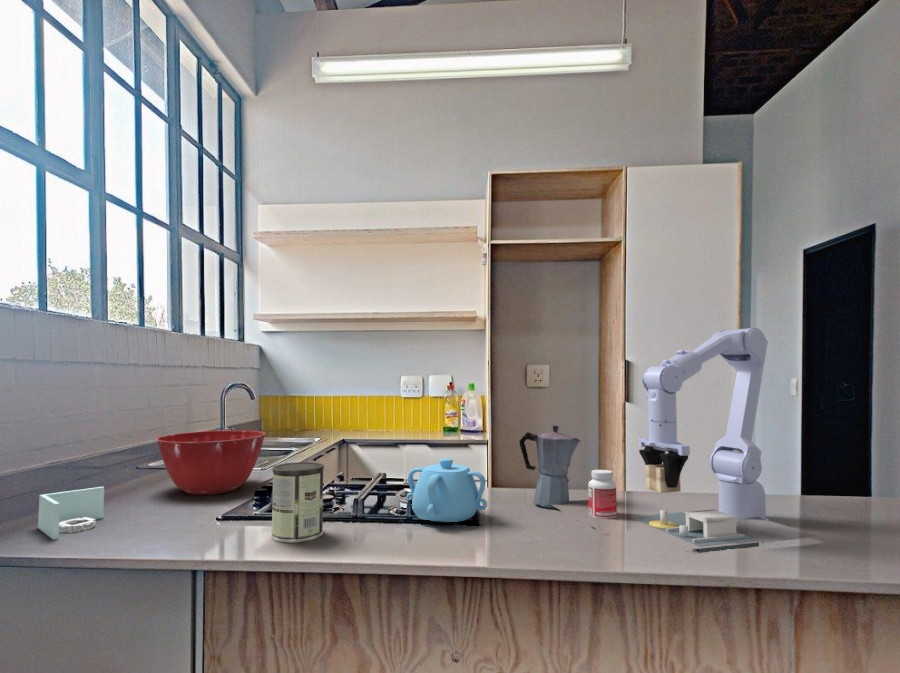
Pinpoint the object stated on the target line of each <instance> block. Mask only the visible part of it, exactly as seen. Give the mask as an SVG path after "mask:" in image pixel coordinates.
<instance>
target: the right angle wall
mask: <svg viewBox="0 0 900 673" xmlns="http://www.w3.org/2000/svg"><path fill="white" fill-rule="evenodd" d="M38 500H39V501H38V515H37V516H38V520H37V529H38V530H40V531H41V532H42V533H43V534H45V535H47V537H48V538H50V539H51V540H53V541H54V540H58V539H59V536H60V535H59V534H63V533H65V534H66V533H67V534H70V533H71V534H72V533H80V532H86V531H89V530H92V529H93V528H94V527H96V525H97V520H99V519H104V506H105V501H104V500H105V487H104V486H98V487H97V486H95V487H89V488H83V489H73V490H68V491H67V490H65V491H59V492H52V493H44V494H39V498H38Z"/></svg>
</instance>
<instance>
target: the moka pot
mask: <svg viewBox="0 0 900 673" xmlns="http://www.w3.org/2000/svg"><path fill="white" fill-rule="evenodd" d="M559 429H560V426H558V425H553V426H552V432H550V431H549V432H544V433H531V432H528V431H527V432H525V434H524V435H523V436H521V439H519V447H520V450H521V453H522V454H521V455H522V457H523V460H524V463H525V464H524V465H525V468H526V469H527V470H532V471H535V470H536V468H537V467H536V466H535V465H531V463H530V461H529V457H528V456H529V455H528V452H527V449H526V448H527V447H526V444H525V442H526V441H527V440H529V441H532V442H536V453H537V454H536V455H537V456H536V457H537V464H538V465H539V466H538V468H537V469H538V472H539V473H538V477H537V481H536V486H535V492H534V498H533V503H534V504H535V505H537V506H538V507H539V506H540V507H543V508H548V509H558V507H555V506H554V505H564V504H569V502H570V492H569V481H570V480H569V477H568V473H569V468H570V467H571V461H572V456H573V455H574V453H575V450H576V448H577V446H578V444H579V443H580V442H581V440H580V438H578V437H576V436H571V435H567V434H564V433H562V432H559Z"/></svg>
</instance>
